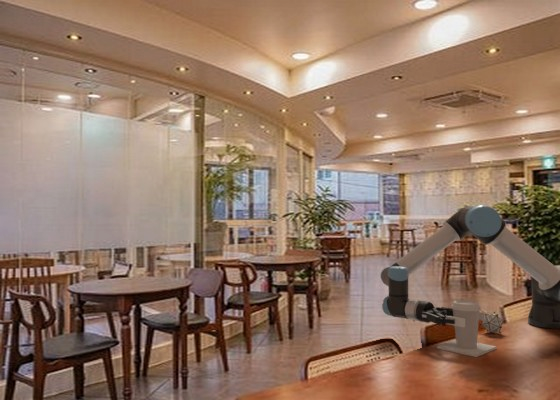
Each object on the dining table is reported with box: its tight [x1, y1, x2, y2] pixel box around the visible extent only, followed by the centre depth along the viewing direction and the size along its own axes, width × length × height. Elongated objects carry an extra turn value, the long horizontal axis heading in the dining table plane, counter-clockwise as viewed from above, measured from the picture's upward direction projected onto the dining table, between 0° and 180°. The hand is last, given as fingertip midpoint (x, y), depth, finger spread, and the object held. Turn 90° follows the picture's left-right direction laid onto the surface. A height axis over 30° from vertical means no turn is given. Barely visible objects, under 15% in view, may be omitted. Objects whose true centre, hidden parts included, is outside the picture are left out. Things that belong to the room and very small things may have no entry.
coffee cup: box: [450, 300, 482, 349], centre depth 167 cm, size 10×10×15 cm
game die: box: [478, 311, 506, 335], centre depth 188 cm, size 9×8×10 cm
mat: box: [436, 339, 497, 358], centre depth 167 cm, size 14×14×1 cm
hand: (475, 319), depth 165 cm, fingers open, 13 cm apart
